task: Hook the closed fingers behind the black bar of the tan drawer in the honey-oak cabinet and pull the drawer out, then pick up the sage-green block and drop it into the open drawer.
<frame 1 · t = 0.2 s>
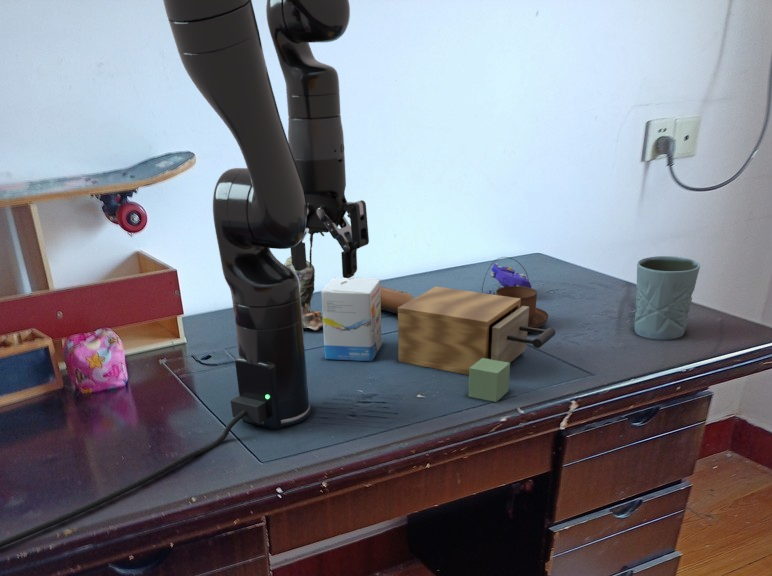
hand: (324, 273, 121), 17 cm above the table, tool pointing down, fingers open, 8 cm apart
ink box: (354, 353, 142), on the table
sunglasses case: (395, 311, 161), on the table
drawer: (488, 335, 134), point 5 cm above the table, slide at 0.6 cm
game controller: (506, 298, 166), on the table
cabinet: (458, 356, 139), on the table
plant with pod: (305, 325, 155), on the table
drinking glass: (657, 333, 147), on the table
cup and saucer: (514, 326, 151), on the table
block: (488, 394, 125), on the table
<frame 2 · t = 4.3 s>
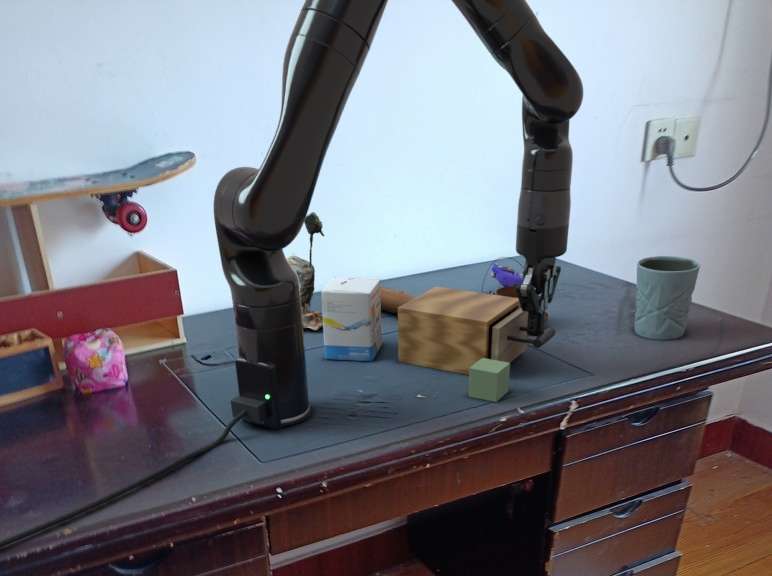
hand: (534, 334, 130), 6 cm above the table, tool pointing down, fingers closed
drawer: (488, 335, 134), point 5 cm above the table, slide at 0.6 cm, touching gripper
everything else where it was.
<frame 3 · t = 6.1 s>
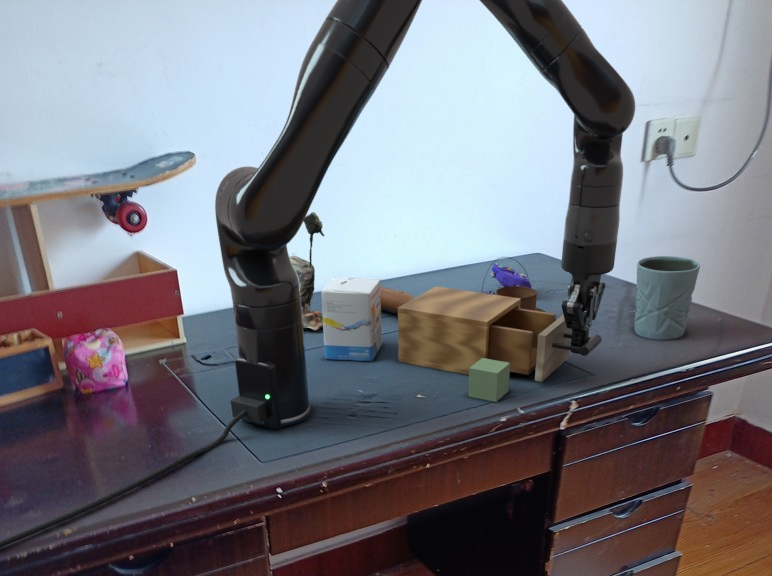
hand: (578, 351, 127), 4 cm above the table, tool pointing down, fingers closed
drawer: (531, 342, 131), point 5 cm above the table, slide at 8.1 cm, touching gripper
everything else where it was.
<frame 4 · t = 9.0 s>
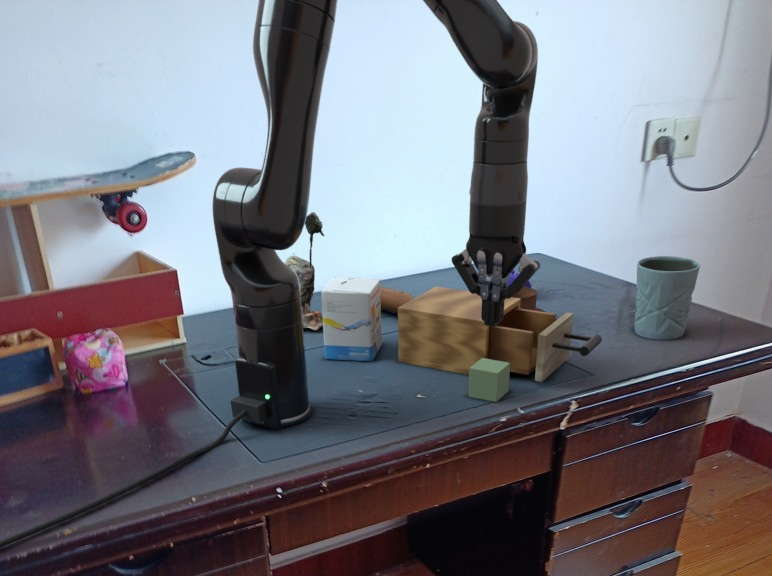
hand: (491, 324, 119), 11 cm above the table, tool pointing down, fingers closed
drawer: (532, 342, 131), point 5 cm above the table, slide at 8.1 cm
everything else where it was.
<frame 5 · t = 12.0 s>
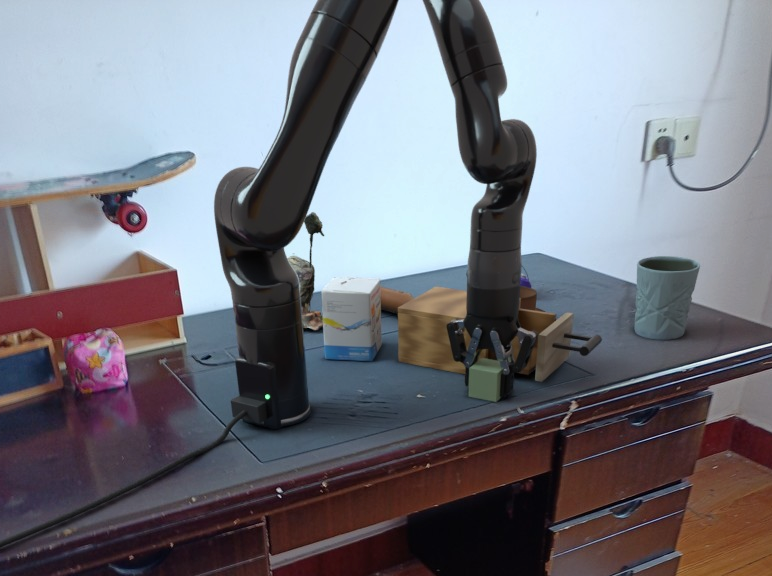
hand: (488, 391, 125), 0 cm above the table, tool pointing down, fingers closed on block, 4 cm apart
block: (488, 394, 125), on the table, touching gripper
everything else where it was.
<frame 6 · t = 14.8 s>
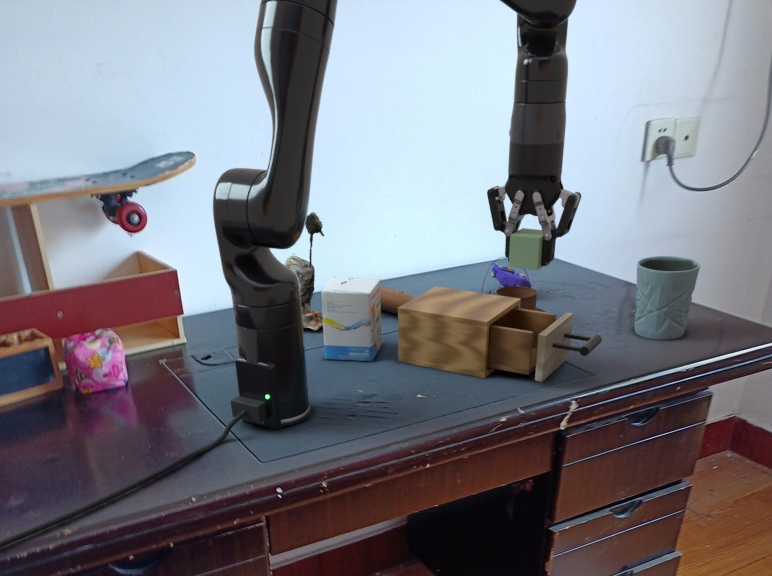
hand: (528, 262, 123), 17 cm above the table, tool pointing down, fingers closed on block, 4 cm apart
block: (528, 264, 124), point 17 cm above the table, touching gripper
everything else where it was.
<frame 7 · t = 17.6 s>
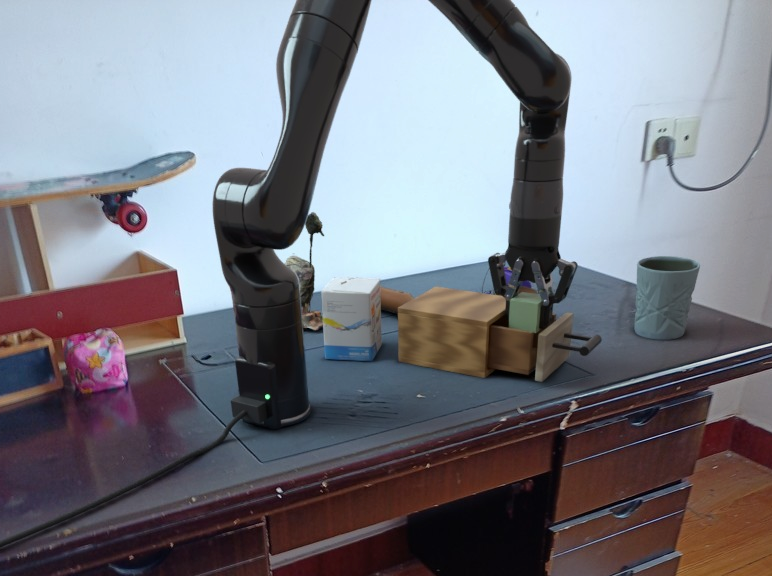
hand: (527, 324, 129), 7 cm above the table, tool pointing down, fingers closed on block, 4 cm apart
block: (527, 326, 130), point 7 cm above the table, touching gripper
everything else where it was.
when the fingers open (7 cm above the table, at t = 17.7 s): block drops 5 cm, resting on drawer.
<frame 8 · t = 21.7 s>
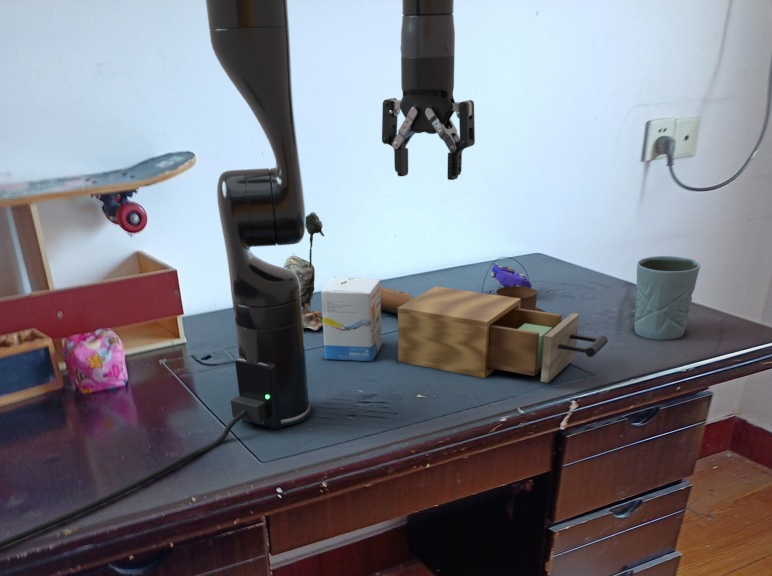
hand: (427, 177, 124), 28 cm above the table, tool pointing down, fingers open, 8 cm apart
drawer: (537, 343, 130), point 5 cm above the table, slide at 9.0 cm, touching block
block: (530, 357, 132), point 2 cm above the table, touching drawer
everything else where it was.
at the end: drawer slide at 9.0 cm; block inside the target area in the cabinet (8.1 cm from its centre), point 2.1 cm above the cabinet's base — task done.
